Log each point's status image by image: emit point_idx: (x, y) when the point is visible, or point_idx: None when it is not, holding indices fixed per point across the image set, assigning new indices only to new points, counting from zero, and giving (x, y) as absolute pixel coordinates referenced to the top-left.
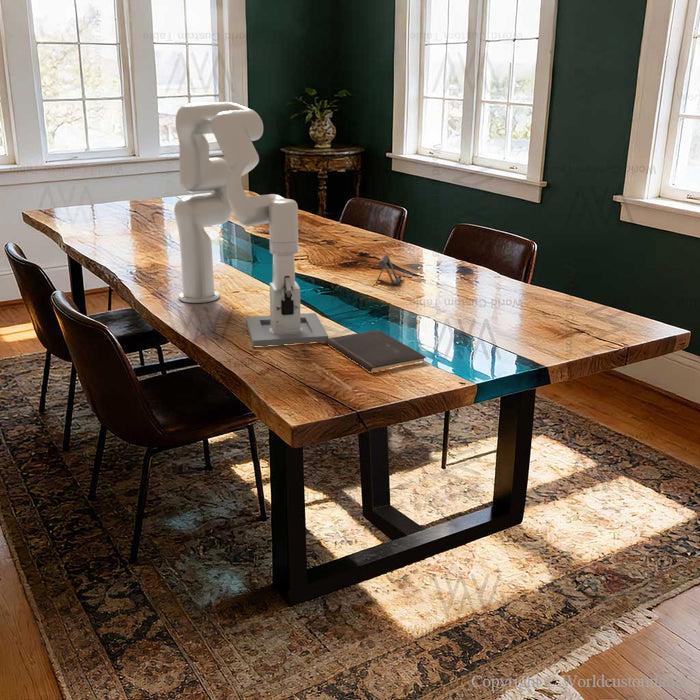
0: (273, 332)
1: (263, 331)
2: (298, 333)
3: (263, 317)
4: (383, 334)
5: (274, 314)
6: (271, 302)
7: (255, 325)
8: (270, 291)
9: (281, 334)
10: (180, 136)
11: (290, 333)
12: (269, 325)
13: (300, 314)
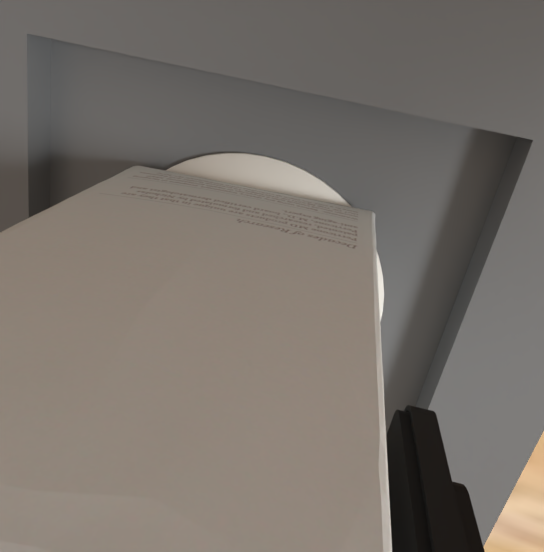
0: (200, 174)
1: (280, 98)
2: None
3: None
4: None
5: (17, 223)
6: (156, 302)
7: (372, 35)
8: (197, 449)
9: (26, 198)
10: None
11: None
12: (427, 212)
13: (480, 516)
